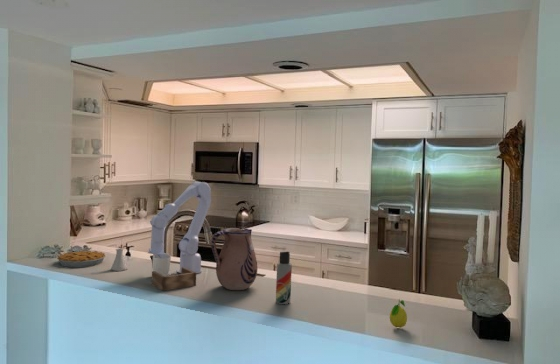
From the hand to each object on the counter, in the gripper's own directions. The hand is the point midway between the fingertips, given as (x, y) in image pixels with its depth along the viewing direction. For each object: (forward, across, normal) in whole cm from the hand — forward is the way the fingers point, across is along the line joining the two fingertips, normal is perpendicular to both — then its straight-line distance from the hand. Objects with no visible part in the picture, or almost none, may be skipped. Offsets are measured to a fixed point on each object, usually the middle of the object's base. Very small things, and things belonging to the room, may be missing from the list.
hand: (155, 270), depth 199 cm
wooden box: (+2, +18, +1) cm, 18 cm away
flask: (+3, -20, -10) cm, 23 cm away
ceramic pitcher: (+2, +36, +20) cm, 41 cm away
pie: (+4, -43, -21) cm, 48 cm away
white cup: (+2, +4, +1) cm, 4 cm away
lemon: (+1, +103, +41) cm, 111 cm away
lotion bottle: (+1, +62, +26) cm, 67 cm away
